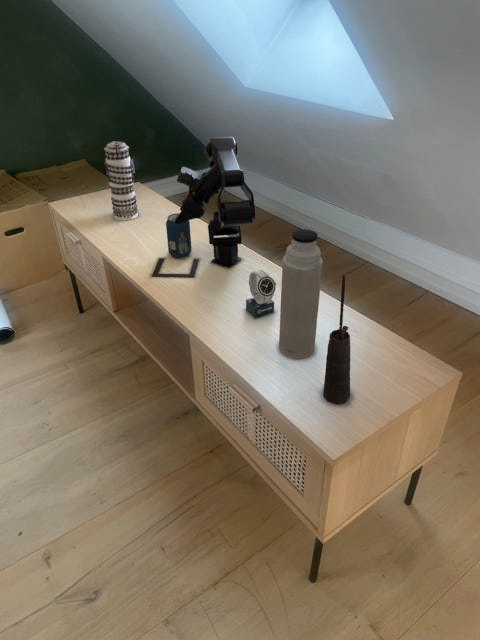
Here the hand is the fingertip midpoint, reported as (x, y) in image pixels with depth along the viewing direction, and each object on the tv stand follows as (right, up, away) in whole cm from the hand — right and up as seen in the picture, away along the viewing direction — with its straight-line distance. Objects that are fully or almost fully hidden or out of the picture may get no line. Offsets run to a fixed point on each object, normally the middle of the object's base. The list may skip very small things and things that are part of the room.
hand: (178, 216), depth 145 cm
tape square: (-1, -15, 0) cm, 15 cm away
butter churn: (+37, -45, -44) cm, 73 cm away
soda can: (0, -10, +7) cm, 12 cm away
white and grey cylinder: (-23, +7, +32) cm, 40 cm away
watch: (+23, -28, -19) cm, 41 cm away
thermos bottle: (+31, -37, -32) cm, 57 cm away
